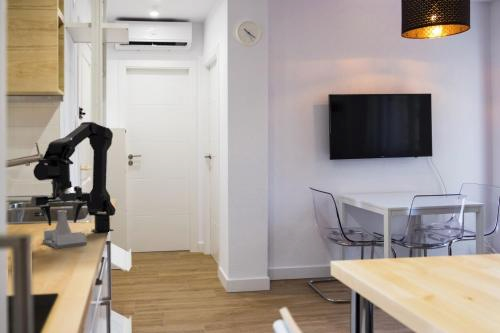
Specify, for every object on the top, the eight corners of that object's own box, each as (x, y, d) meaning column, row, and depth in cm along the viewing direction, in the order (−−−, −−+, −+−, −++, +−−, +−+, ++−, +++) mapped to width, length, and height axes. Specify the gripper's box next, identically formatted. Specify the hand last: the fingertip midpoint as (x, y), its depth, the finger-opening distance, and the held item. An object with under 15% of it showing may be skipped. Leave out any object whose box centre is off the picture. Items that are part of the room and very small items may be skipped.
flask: (77, 238, 184) (76, 209, 184) (68, 242, 177) (67, 212, 177) (57, 238, 185) (56, 209, 185) (47, 242, 178) (46, 212, 177)
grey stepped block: (42, 242, 182) (42, 230, 182) (71, 238, 188) (71, 227, 188) (56, 248, 171) (56, 236, 171) (86, 244, 178) (86, 232, 177)
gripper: (40, 181, 168) (42, 230, 169) (97, 178, 179) (98, 223, 180) (29, 179, 176) (31, 226, 177) (84, 176, 188) (85, 220, 189)
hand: (62, 224), depth 181 cm, fingers open, 8 cm apart
